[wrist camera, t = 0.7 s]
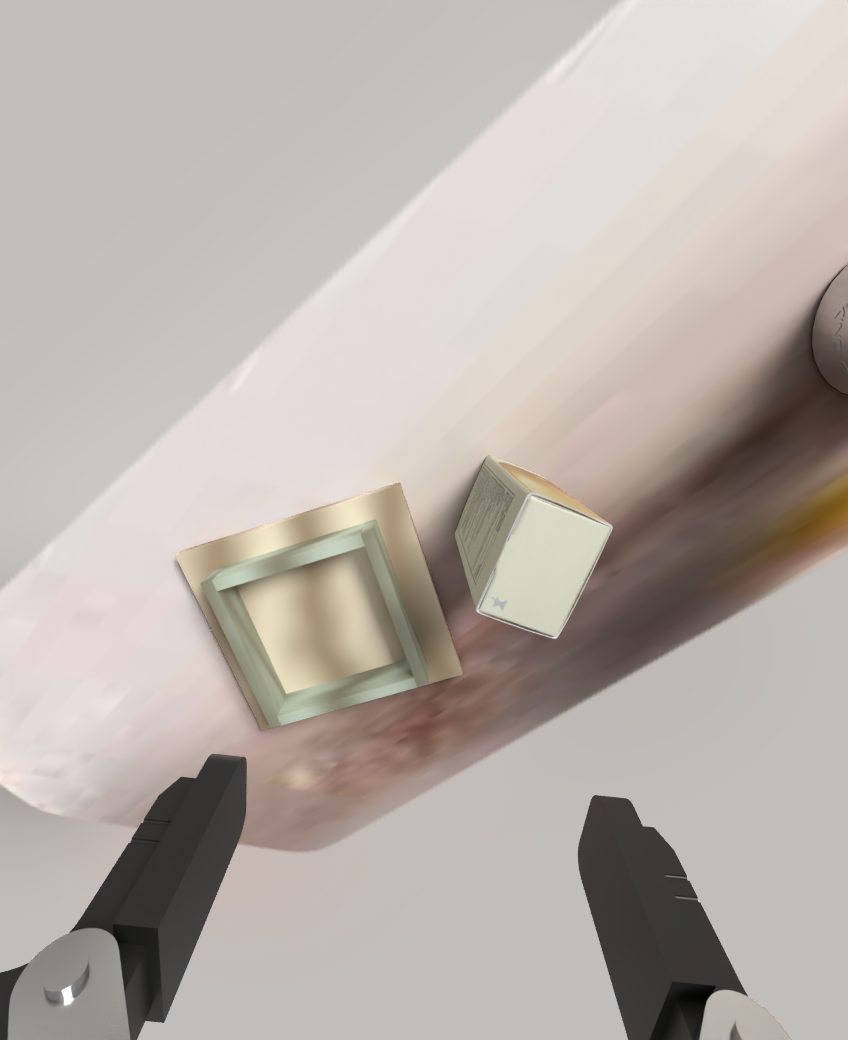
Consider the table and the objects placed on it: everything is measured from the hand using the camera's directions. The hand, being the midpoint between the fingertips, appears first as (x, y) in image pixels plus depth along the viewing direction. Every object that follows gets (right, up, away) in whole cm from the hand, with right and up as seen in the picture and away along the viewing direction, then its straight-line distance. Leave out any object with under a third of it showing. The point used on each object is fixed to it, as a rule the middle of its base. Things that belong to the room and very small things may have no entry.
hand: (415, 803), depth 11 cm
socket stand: (-7, 0, +24) cm, 25 cm away
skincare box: (+5, +8, +22) cm, 24 cm away
